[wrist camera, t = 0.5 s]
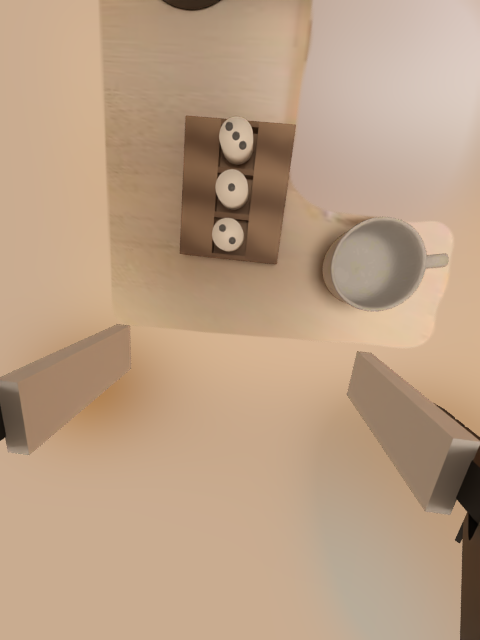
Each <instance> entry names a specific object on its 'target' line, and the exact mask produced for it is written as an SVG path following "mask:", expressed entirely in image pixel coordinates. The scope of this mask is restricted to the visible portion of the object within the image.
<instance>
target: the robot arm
mask: <svg viewBox="0 0 480 640" xmlns="http://www.w3.org/2000/svg"><path fill="white" fill-rule="evenodd" d="M164 1H165V2H167V3H169V4H171V5H173V6H175V7H179V8H183V9H199V8H204V7H207V6H210V5H212V4H214V3H216V2H217V1H219V0H164ZM130 350H131V347H130V326H129V325H120V324H117V325H114V326H112V327H110V328H108V329H106V330H103V331H101V332H99V333H97V334H95V335H92V336H90V337H88V338H86V339H84V340H81V341H79V342H77V343H75V344H72V345H70V346H68V347H66V348H64V349H62V350H59V351H57V352H55V353H53V354H50V355H48V356H46V357H44V358H41V359H39V360H37V361H35V362H33V363H30V364H28V365H26V366H24V367H22V368H19V369H17V370H15V371H13V372H11V373H8V374H6V375H4V376H2V377H0V441H1V440H2V439H4V438H6V444H7V449H8V452H11V453H18V454H25V455H30V454H31V453H32V452H34V451H35V450H36V449H37V448H38V447H39V446H41V445H42V444H43V443H44V442H45V441H46V440H48V439H49V438H50V437H51V436H52V435H54V434H55V433H56V432H57V431H58V430H59V429H60V428H62V427H63V426H64V425H65V424H66V423H68V422H69V421H70V420H71V419H72V418H73V417H75V416H76V415H77V414H78V413H79V412H80V411H81V410H83V409H84V408H85V407H86V406H88V405H89V404H90V403H91V402H92V401H93V400H95V399H96V398H97V397H98V396H99V395H100V394H102V393H103V392H104V391H105V390H106V389H107V388H109V387H110V386H111V385H112V384H113V383H114V382H116V381H117V380H118V379H119V378H120V377H122V376H123V375H124V374H125V373H126V372H127V371H129V370H130V369H131V351H130ZM347 396H348V397H349V399H350V400H351V402H352V403H353V405H354V406H355V408H356V409H357V411H358V412H359V414H360V415H361V416H362V418H363V420H364V421H365V422H366V424H367V426H368V427H369V428H370V430H371V431H372V433H373V434H374V436H375V437H376V439H377V440H378V442H379V443H380V445H381V446H382V448H383V449H384V451H385V452H386V454H387V455H388V457H389V458H390V460H391V461H392V462H393V464H394V466H395V467H396V469H397V470H398V472H399V473H400V475H401V476H402V478H403V479H404V481H405V482H406V484H407V485H408V487H409V488H410V490H411V491H412V493H413V494H414V496H415V497H416V499H417V500H418V502H419V503H420V504H421V506H422V508H423V509H424V511H426V512H434V513H440V514H448V515H450V514H451V512H452V509H453V507H454V505H455V502H456V500H458V501H459V502H460V504H461V505H462V506H463V507H464V508H465V510H466V511H467V514H466V516H465V519H464V521H463V523H462V525H461V528H460V530H459V532H458V534H457V536H456V539H455V541H457V542H458V543H460V542H461V540H462V539H463V546H462V548H463V549H462V550H463V551H462V586H461V626H460V640H480V437H479V436H477V435H476V434H475V433H474V432H472V431H471V430H470V429H469V428H467V427H465V426H464V425H463V424H462V423H461V422H460V421H459V420H456V419H455V417H454V416H452V415H451V414H450V413H448V412H447V411H446V410H445V409H443V408H441V407H440V406H438V405H436V404H434V403H432V402H431V401H430V400H429V399H427V398H426V397H425V396H424V395H422V394H421V393H420V392H419V391H418V390H416V389H415V388H414V387H413V386H411V385H410V384H409V383H408V382H406V381H405V380H404V379H403V378H401V377H400V376H399V375H398V374H396V373H395V372H394V371H393V370H392V369H390V368H389V367H387V366H386V365H385V364H384V363H383V362H382V361H380V360H379V359H378V358H377V357H375V356H374V355H373V354H372V353H367V352H359V351H357V354H356V358H355V363H354V367H353V371H352V375H351V379H350V384H349V388H348V392H347Z"/></svg>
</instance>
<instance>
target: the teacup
mask: <svg viewBox="0 0 480 640" xmlns="http://www.w3.org/2000/svg"><path fill="white" fill-rule="evenodd" d="M448 259H449V257H448V255H447V254H435V255H426V250H425V246H424V243H423V240H422V238H421V236H420V235H419V233H418V232H417V231H416V230H415V229H414V228H413V227H412V226H411V225H409V224H408V223H406V222H404V221H402V220H399V219H396V218H391V217H376V218H371V219H368V220H365V221H363V222H361V223H359V224H357V225H356V226H354V227H353V228H351V229H350V230H349V231H347V232H346V233H344V234H343V235H341V236H340V237H339V238H338V239H337V240H336V241H335V242H334V243H333V244H332V245H331V246H330V248H329V250H328V251H327V253H326V255H325V258H324V262H323V269H322V270H323V278H324V282H325V284H326V286H327V288H328V290H329V291H330V292H331V293H332V294H333V295H334V296H335V297H336V298H337V299H339V300H341V301H342V302H345V303H347V304H349V305H351V306H353V307H355V308H358V309H361V310H365V311H383V310H387V309H390V308H393V307H395V306H398V305H399V304H401V303H403V302H404V301H405V300H407V299H408V298H409V297H410V296H411V295H412V294H413V293H414V292H415V291H416V289H417V288H418V286H419V285H420V283H421V281H422V278H423V275H424V272H425V269H426V268H439V267H445V266H446V265H447V264H448Z"/></svg>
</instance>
